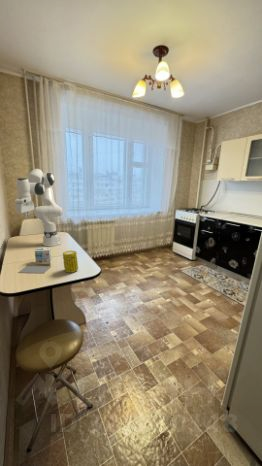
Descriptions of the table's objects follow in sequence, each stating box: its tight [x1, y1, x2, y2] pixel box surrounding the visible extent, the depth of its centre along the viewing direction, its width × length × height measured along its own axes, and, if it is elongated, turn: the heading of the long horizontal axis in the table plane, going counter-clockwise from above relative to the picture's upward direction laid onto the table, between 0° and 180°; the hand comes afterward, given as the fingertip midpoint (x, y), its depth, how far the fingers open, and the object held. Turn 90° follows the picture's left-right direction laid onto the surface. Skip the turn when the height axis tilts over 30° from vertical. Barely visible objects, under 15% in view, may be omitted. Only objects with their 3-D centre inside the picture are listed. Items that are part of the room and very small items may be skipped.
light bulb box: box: [34, 247, 52, 263], centre depth 152 cm, size 11×7×11 cm, turn 105°
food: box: [62, 250, 79, 274], centre depth 138 cm, size 15×12×10 cm
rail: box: [28, 261, 52, 267], centre depth 146 cm, size 2×16×2 cm, turn 89°
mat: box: [17, 264, 52, 274], centre depth 140 cm, size 12×18×1 cm, turn 90°
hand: (26, 217), depth 153 cm, fingers closed
